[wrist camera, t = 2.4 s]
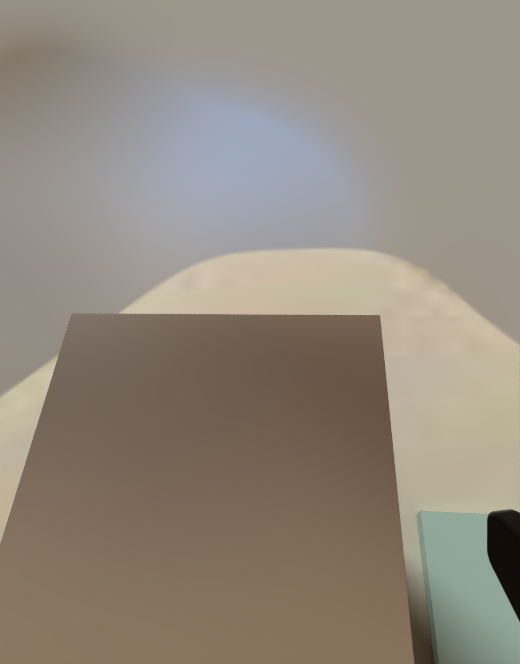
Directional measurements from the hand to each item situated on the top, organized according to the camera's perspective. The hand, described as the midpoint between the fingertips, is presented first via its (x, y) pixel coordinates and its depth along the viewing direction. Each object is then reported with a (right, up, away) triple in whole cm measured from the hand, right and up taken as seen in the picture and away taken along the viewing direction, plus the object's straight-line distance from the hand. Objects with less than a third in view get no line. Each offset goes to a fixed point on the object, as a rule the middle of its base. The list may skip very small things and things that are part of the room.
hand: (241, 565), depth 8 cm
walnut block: (0, -4, +8) cm, 8 cm away
